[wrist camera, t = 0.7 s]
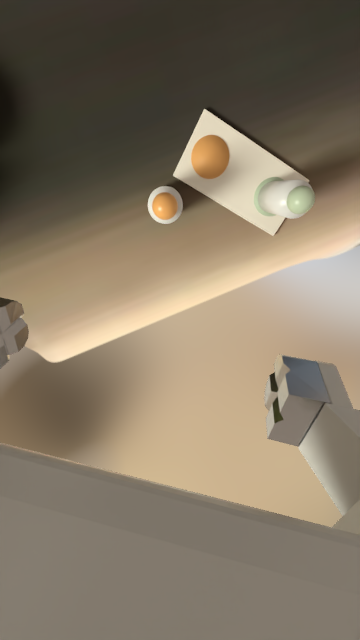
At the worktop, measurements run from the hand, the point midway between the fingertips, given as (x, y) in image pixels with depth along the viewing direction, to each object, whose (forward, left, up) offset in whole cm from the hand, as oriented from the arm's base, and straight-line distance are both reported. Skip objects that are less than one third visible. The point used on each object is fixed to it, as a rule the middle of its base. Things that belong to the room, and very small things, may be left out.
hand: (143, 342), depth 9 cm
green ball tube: (-11, +14, -43) cm, 47 cm away
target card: (-11, +8, -44) cm, 46 cm away
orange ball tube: (-2, -1, -44) cm, 44 cm away
